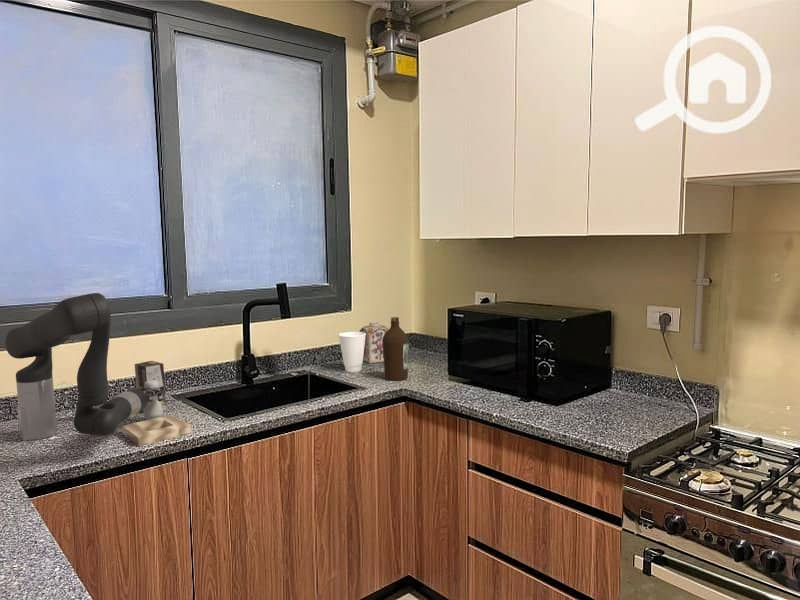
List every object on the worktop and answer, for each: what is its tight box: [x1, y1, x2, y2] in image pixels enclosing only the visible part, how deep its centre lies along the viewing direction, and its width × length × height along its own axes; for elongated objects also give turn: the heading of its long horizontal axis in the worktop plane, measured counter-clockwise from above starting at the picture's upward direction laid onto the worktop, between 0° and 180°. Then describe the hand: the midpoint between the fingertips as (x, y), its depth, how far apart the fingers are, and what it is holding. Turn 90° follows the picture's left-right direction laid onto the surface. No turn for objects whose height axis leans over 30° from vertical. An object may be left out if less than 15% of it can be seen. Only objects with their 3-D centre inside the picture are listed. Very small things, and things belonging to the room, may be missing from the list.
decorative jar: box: [358, 321, 390, 364], centre depth 270 cm, size 12×12×18 cm
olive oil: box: [382, 316, 410, 382], centre depth 233 cm, size 11×11×25 cm
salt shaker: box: [142, 380, 164, 420], centre depth 185 cm, size 6×6×13 cm
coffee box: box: [134, 360, 167, 412], centre depth 197 cm, size 9×6×16 cm
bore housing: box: [121, 414, 192, 447], centre depth 172 cm, size 15×15×2 cm
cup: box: [338, 331, 366, 373], centre depth 250 cm, size 12×12×16 cm
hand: (155, 389), depth 188 cm, fingers open, 4 cm apart
